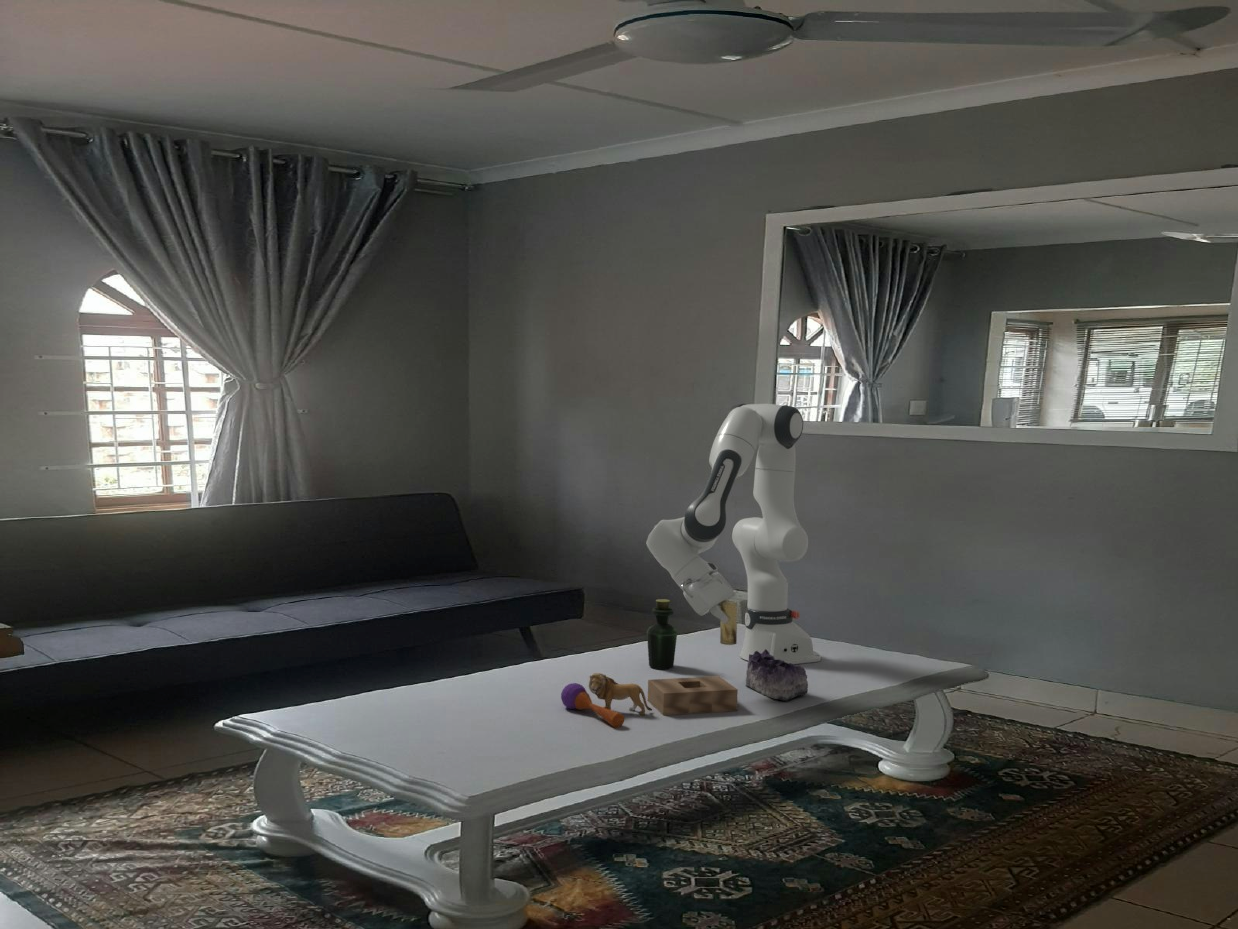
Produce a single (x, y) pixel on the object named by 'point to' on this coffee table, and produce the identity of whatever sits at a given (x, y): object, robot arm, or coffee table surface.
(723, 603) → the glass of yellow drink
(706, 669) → the coffee table surface
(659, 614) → the potion bottle
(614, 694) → the lion figurine
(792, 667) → the geode
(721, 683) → the walnut hole block
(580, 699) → the purple and orange maraca
